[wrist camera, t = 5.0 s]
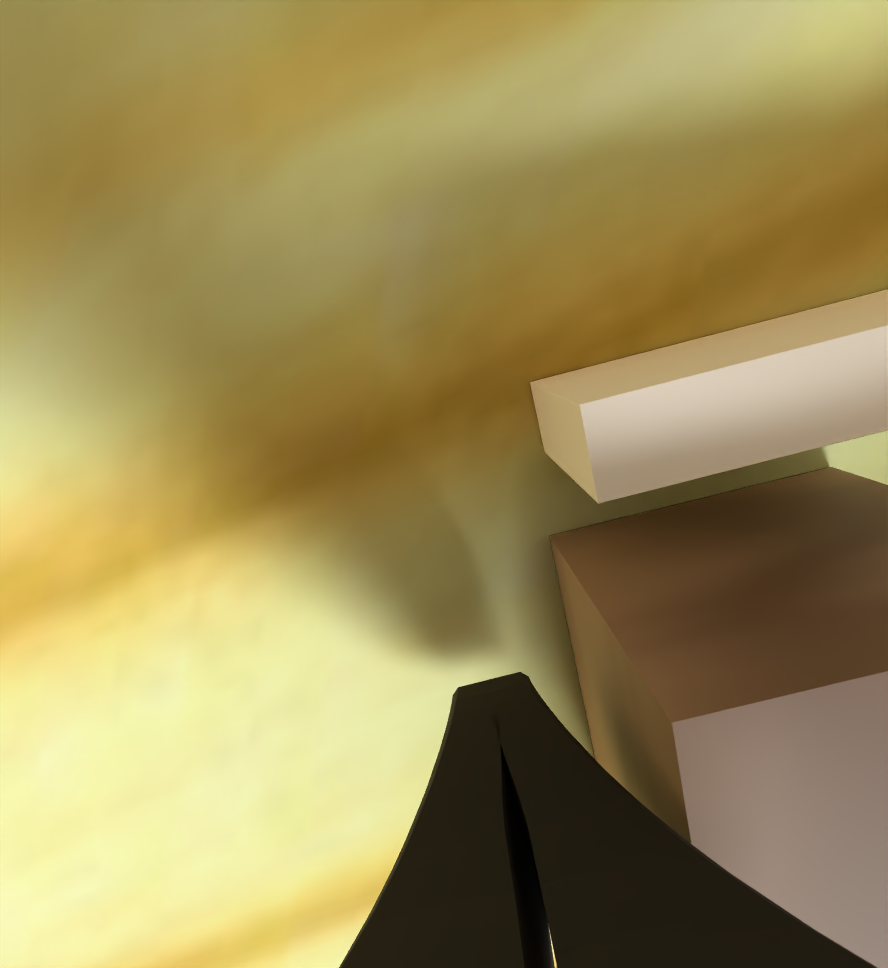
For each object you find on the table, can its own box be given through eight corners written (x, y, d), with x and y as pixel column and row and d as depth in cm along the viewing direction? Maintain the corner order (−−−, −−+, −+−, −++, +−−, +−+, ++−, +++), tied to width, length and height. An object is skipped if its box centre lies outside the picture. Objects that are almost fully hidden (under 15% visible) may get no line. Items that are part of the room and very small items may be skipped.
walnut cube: (831, 467, 10) (1216, 592, 5) (847, 709, 11) (1170, 990, 6) (549, 535, 10) (671, 722, 5) (597, 769, 11) (731, 1090, 7)
